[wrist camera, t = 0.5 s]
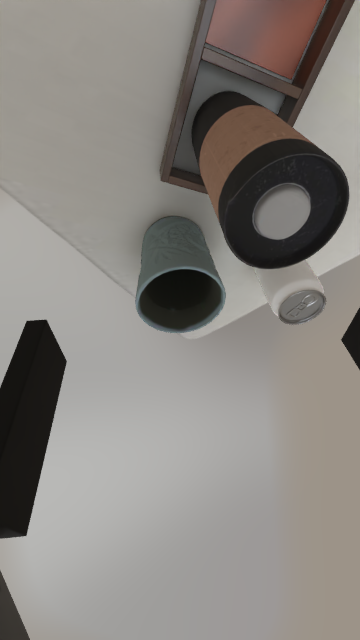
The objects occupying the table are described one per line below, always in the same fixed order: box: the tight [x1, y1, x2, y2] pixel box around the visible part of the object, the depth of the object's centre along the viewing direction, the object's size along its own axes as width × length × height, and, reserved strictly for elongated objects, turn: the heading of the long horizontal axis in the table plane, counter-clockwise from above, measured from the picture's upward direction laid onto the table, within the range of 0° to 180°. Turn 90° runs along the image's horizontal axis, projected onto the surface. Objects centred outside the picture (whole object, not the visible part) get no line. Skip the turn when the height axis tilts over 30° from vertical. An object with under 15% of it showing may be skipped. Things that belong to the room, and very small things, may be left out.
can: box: [253, 260, 326, 325], centre depth 39 cm, size 6×6×12 cm
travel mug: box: [192, 91, 349, 269], centre depth 25 cm, size 8×8×20 cm
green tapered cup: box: [135, 216, 226, 333], centre depth 37 cm, size 10×10×12 cm
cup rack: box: [160, 0, 355, 194], centre depth 27 cm, size 11×22×3 cm, turn 163°
